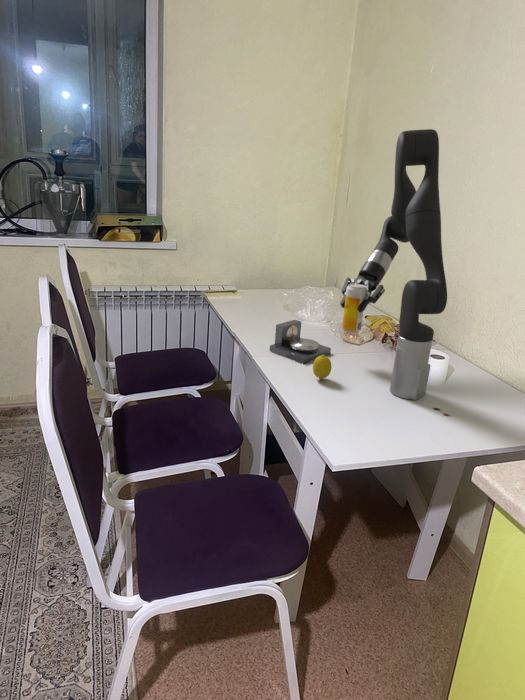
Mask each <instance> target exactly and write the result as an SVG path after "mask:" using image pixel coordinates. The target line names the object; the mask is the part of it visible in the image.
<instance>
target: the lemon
mask: <svg viewBox="0 0 525 700" xmlns="http://www.w3.org/2000/svg"><path fill="white" fill-rule="evenodd" d="M312 371H313V374H314V375H315V377H316V378H318V379H319V380H323V379H326V378H327V377H329V375H330V374H331V372H332V362H331V358H329V357H328V355H321V356H319V357H317V358H316V359H315V360H313V365H312Z"/></svg>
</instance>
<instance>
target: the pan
mask: <svg viewBox="0 0 525 700" xmlns="http://www.w3.org/2000/svg"><path fill="white" fill-rule="evenodd" d="M319 344H320V343H319V342H317V340H313V339H310V338H302V337H300V338H299V339H293V340H291V341H290V347H291V348H293V349H296V350H300V351H314V350H317V349H318V348H319Z"/></svg>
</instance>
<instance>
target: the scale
mask: <svg viewBox="0 0 525 700" xmlns="http://www.w3.org/2000/svg"><path fill="white" fill-rule="evenodd" d="M301 328H302V321H300V320H297V319H291V320H288V321H285V322H281V323H278V324H275V333H274V343H273V344H269V352H271V353H274V354H277V355H279V356H282V357H284V358H287V359H290V360H292V361H294V360H295V361H294V362H296V363H297V362H298V363H301V364H302V363H303V364H306V362H307V363H309V362H312V361H315V360H314V359H316V358H317V357H319V356H321V355H325V356H328V355H331V352H332V348H331V347H329V346H326V345H323V344H320V343H319V348H318V349H317V350H314V351H300V350H296V349H293V348H291V347H290V341H291V340H293V339H299V338H301V333H302V332H301V331H302V329H301ZM311 360H312V361H311Z"/></svg>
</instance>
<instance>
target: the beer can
mask: <svg viewBox="0 0 525 700" xmlns="http://www.w3.org/2000/svg"><path fill="white" fill-rule="evenodd" d="M365 294H366V289H365V286H364V285H361V284H349V285H348V287H347V288H346V297H345V306H344V308H343V316H342V325H341V329H342V331H343V332H345V333H348V334H358V333H360V332H361V330H362V325H363V318H364V311H362V312H359V311H358V306H359V305H360V304H361V302H362V301H363V300H364V297H365Z"/></svg>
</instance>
